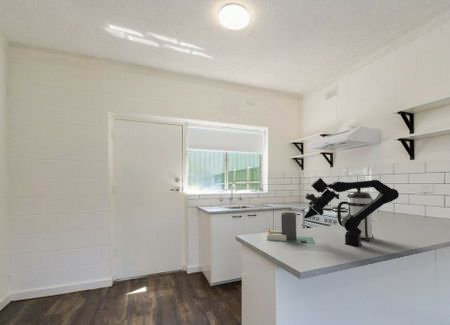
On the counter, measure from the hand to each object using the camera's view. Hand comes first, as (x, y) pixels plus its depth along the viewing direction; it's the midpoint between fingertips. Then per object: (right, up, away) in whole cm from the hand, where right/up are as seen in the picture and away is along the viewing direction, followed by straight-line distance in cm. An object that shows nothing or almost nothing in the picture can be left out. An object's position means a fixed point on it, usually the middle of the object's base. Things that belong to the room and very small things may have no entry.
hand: (304, 217), depth 128 cm
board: (-8, -13, +1) cm, 15 cm away
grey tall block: (-9, -12, +1) cm, 15 cm away
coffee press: (+35, -14, +7) cm, 38 cm away
